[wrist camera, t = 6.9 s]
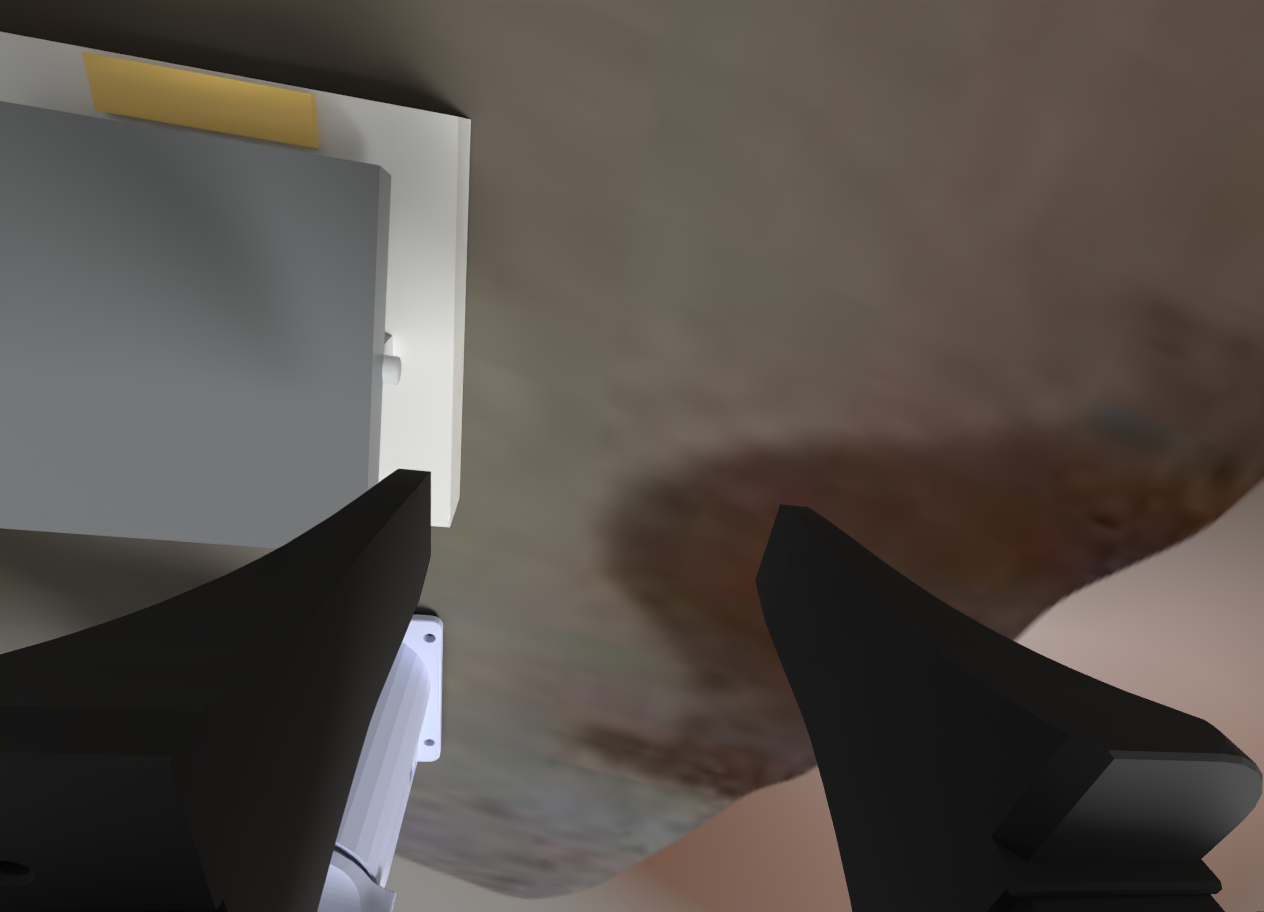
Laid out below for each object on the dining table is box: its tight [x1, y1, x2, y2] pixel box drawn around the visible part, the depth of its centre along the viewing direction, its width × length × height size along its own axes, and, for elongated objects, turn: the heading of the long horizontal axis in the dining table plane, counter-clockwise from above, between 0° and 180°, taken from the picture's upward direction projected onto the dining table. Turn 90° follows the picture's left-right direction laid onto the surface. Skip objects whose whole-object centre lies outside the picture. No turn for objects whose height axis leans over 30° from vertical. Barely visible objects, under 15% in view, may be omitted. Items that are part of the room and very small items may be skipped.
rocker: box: [0, 101, 401, 548], centre depth 15 cm, size 10×10×2 cm
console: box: [0, 32, 471, 527], centre depth 17 cm, size 13×24×3 cm, turn 81°
